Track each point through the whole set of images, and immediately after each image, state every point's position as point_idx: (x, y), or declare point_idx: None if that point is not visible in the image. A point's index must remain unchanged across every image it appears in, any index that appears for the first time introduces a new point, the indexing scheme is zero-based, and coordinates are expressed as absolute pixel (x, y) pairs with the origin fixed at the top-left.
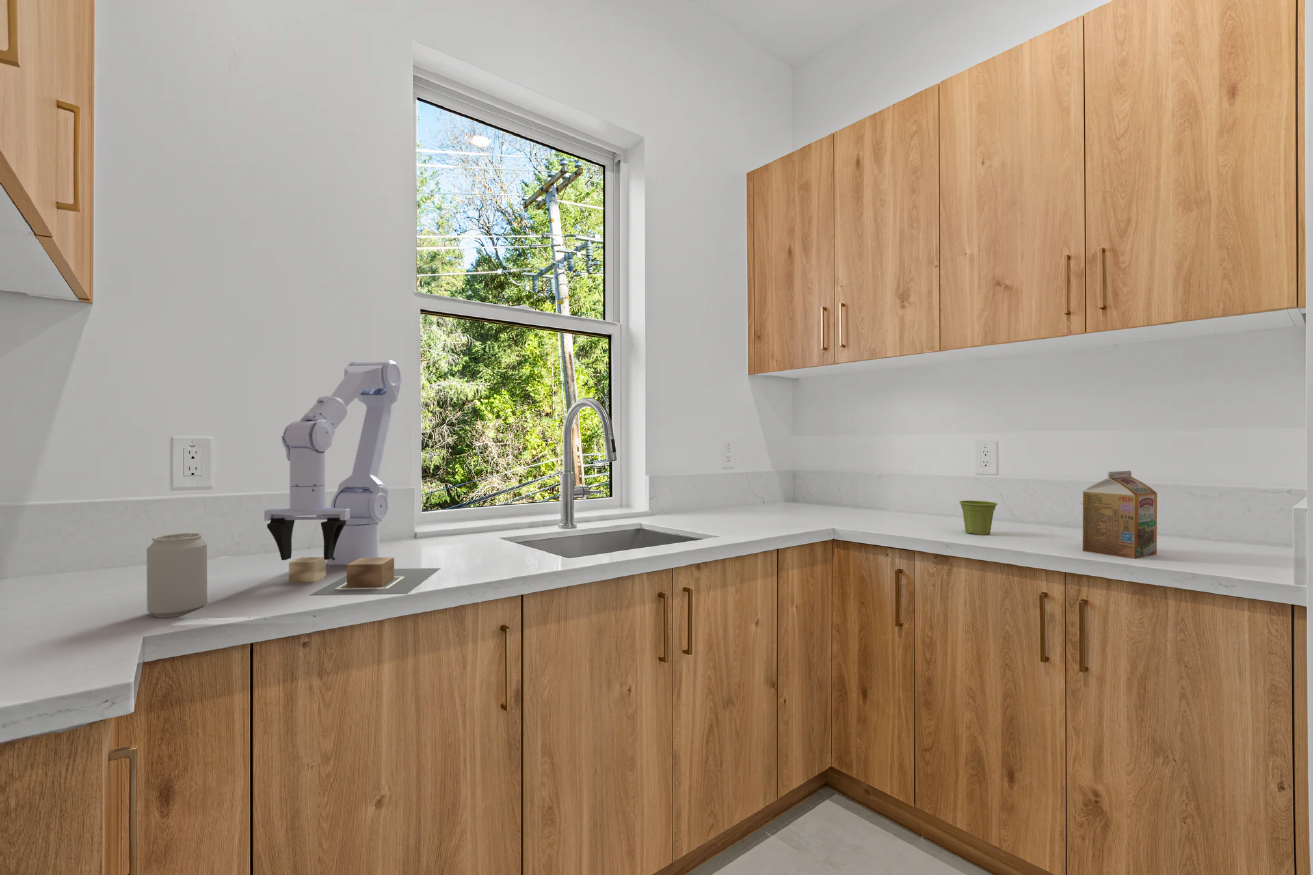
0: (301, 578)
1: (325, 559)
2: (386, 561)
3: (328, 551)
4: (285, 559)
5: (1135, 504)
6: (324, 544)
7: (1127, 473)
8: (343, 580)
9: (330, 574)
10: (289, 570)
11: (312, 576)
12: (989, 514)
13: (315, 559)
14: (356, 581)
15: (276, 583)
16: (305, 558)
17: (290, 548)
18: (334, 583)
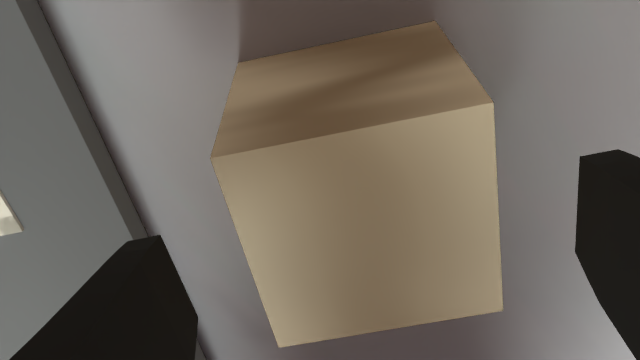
0: (339, 62)
1: (149, 238)
2: None
3: (76, 298)
4: (582, 165)
5: None
6: (67, 349)
7: None
8: (32, 142)
9: (367, 338)
10: (463, 68)
11: (248, 91)
12: None
13: (297, 257)
14: None
15: (592, 91)
16: (434, 281)
17: (629, 327)
18: (7, 41)
